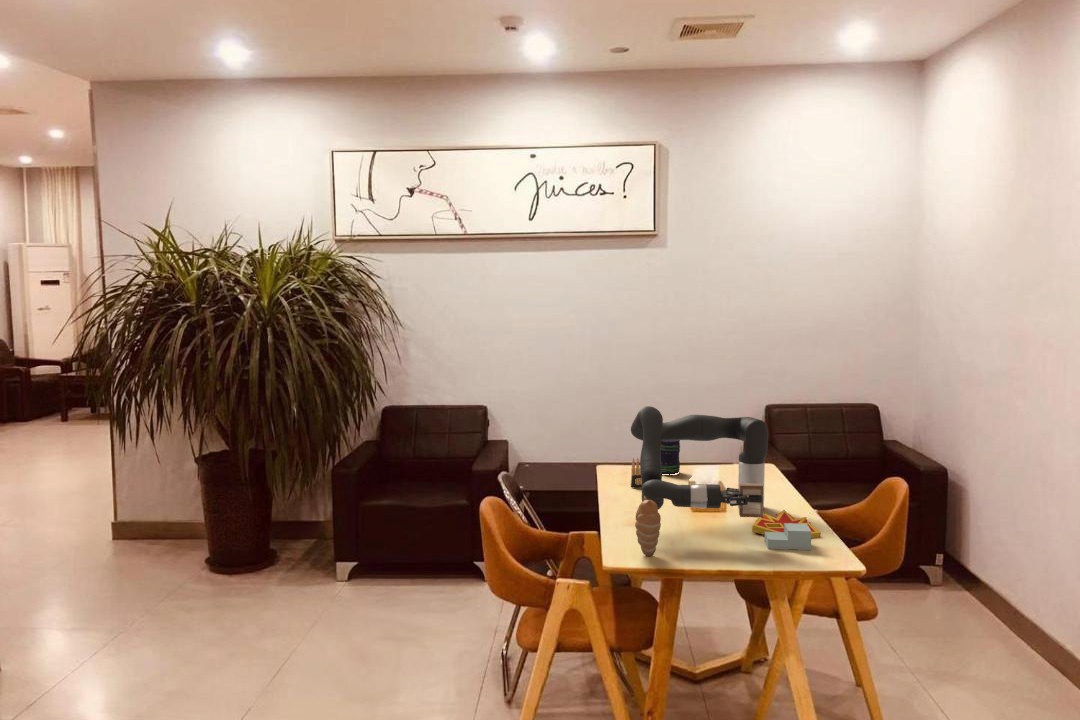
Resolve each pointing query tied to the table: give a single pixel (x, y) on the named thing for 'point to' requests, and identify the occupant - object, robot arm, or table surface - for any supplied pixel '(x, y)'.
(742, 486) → the frame
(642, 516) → the brown ribbed tall piece
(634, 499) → the table surface
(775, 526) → the wall decoration
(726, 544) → the table surface
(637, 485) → the ammunition clip
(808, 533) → the blue-grey stepped block
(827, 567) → the table surface
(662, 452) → the storage jar
